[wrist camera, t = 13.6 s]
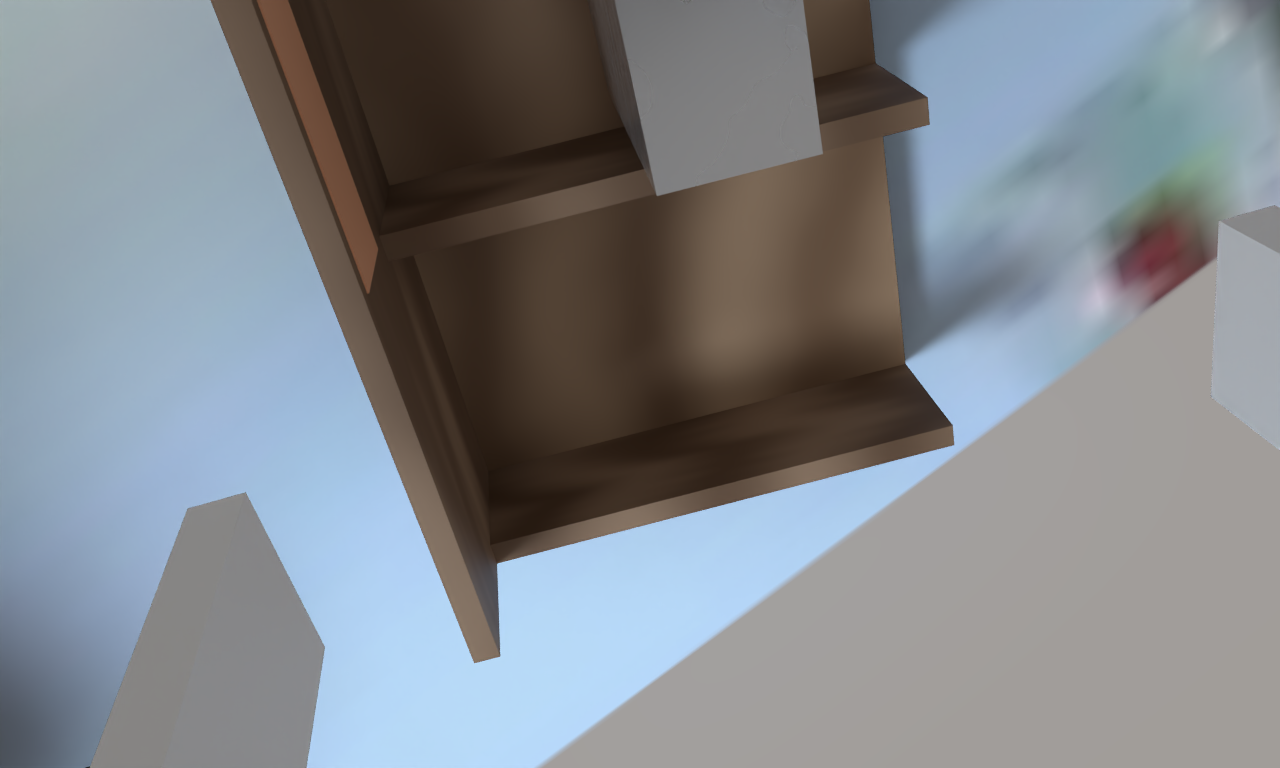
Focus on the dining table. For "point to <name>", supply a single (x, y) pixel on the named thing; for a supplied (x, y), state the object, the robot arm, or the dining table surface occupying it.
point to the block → (709, 85)
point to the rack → (581, 274)
